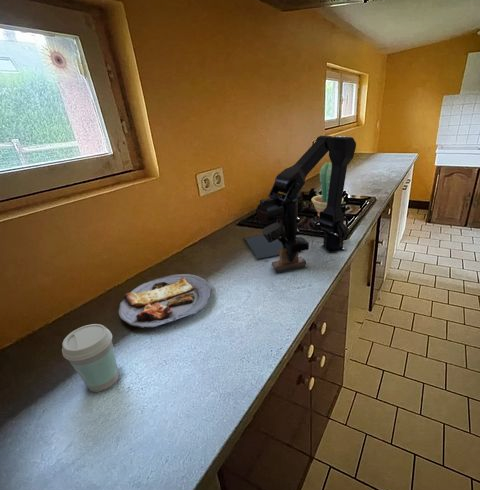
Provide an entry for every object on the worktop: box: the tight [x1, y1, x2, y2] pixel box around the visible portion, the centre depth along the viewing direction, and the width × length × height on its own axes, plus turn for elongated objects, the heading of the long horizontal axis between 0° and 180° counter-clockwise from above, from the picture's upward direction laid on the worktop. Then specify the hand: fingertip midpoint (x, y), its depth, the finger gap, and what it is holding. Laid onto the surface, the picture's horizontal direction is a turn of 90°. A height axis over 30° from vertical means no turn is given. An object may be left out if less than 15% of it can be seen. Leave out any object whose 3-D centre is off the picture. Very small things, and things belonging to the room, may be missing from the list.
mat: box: [244, 234, 302, 261], centre depth 119 cm, size 17×20×1 cm
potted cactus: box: [311, 161, 345, 218], centre depth 142 cm, size 15×15×25 cm
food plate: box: [117, 273, 211, 329], centre depth 86 cm, size 25×23×4 cm
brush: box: [271, 249, 307, 275], centre depth 101 cm, size 11×4×7 cm, turn 108°
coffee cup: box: [61, 323, 120, 393], centre depth 60 cm, size 8×8×12 cm
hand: (289, 259), depth 101 cm, fingers open, 3 cm apart
